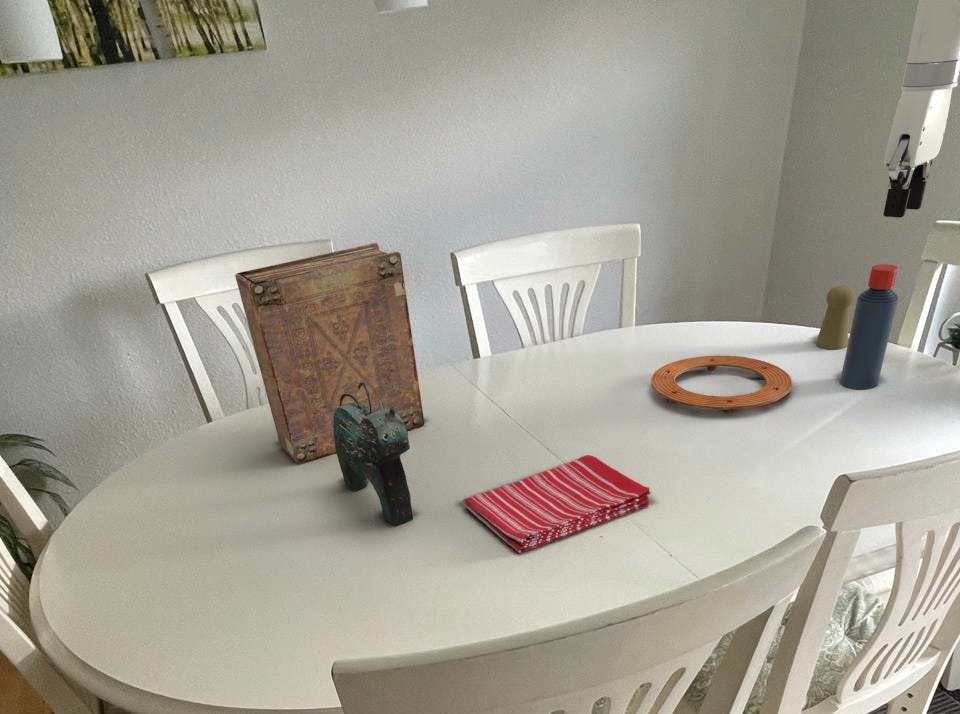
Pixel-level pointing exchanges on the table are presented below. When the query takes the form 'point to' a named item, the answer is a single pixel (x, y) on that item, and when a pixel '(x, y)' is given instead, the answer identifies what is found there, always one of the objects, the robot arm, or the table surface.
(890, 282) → the cap
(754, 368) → the ring
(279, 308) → the book
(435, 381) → the table surface
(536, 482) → the dish towel
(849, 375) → the bottle
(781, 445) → the table surface
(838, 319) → the olive pawn figure
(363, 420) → the dark green carved figure
